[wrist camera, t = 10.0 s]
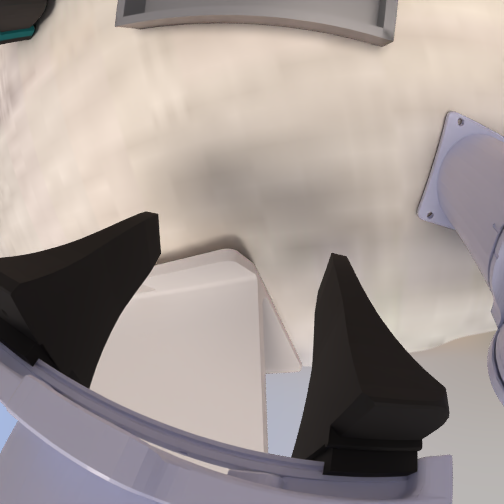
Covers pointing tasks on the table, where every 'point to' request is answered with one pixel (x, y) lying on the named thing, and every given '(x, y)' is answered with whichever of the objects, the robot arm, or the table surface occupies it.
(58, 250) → the robot arm
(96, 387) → the tablet stand
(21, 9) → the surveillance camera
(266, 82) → the table surface
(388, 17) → the tray
